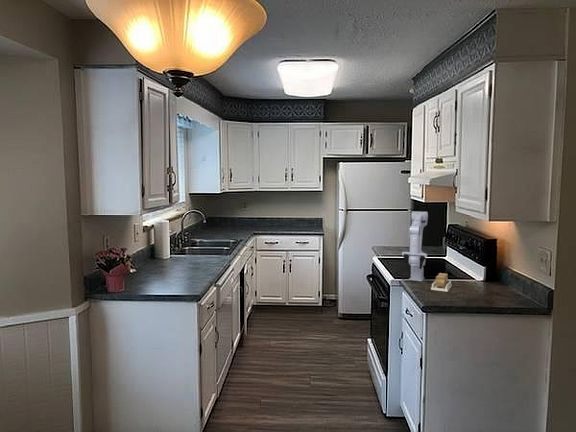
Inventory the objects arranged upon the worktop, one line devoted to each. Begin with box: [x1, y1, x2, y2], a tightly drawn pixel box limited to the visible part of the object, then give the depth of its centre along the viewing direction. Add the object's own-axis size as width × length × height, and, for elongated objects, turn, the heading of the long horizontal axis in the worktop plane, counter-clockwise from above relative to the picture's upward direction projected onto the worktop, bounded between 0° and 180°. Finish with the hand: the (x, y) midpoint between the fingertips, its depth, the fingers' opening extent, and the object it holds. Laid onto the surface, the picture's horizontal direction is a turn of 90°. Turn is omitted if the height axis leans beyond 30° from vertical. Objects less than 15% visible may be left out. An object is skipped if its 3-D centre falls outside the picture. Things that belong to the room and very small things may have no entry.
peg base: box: [430, 280, 453, 293], centre depth 263 cm, size 14×9×3 cm, turn 150°
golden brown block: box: [435, 272, 449, 287], centre depth 262 cm, size 12×4×5 cm, turn 151°
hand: (414, 268), depth 268 cm, fingers open, 7 cm apart
